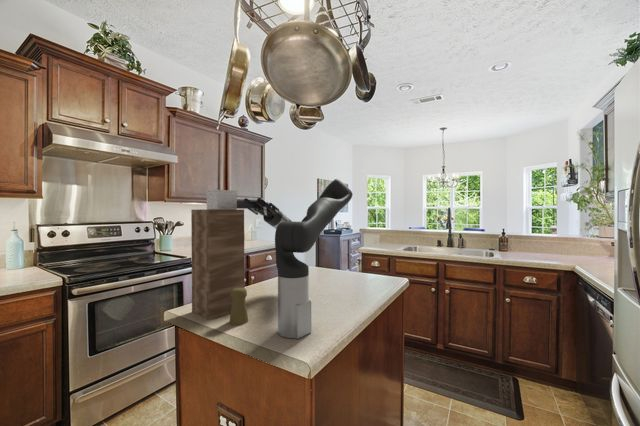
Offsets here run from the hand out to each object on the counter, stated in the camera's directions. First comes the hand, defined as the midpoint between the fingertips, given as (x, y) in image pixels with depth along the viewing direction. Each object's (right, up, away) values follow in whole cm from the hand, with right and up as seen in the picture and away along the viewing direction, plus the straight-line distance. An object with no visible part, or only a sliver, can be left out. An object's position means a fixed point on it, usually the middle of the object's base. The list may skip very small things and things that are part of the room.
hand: (250, 199), depth 119 cm
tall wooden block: (-9, -41, -11) cm, 44 cm away
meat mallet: (-4, -4, -5) cm, 7 cm away
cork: (+1, -41, -22) cm, 47 cm away
